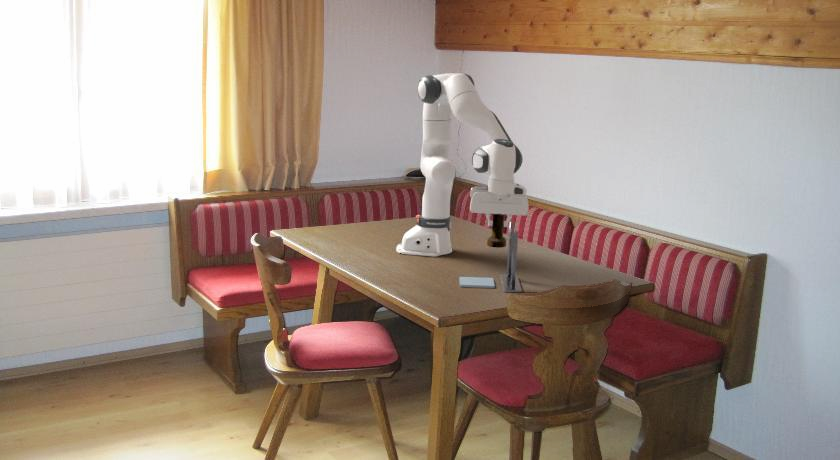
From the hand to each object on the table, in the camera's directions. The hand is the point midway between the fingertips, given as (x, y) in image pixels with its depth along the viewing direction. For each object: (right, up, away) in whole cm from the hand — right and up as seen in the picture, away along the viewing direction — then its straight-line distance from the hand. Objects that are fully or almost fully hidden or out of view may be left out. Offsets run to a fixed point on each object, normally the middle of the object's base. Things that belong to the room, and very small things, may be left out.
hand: (497, 226), depth 299 cm
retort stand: (+5, -21, +4) cm, 22 cm away
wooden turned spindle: (0, -7, +1) cm, 7 cm away
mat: (-7, -20, +5) cm, 22 cm away
